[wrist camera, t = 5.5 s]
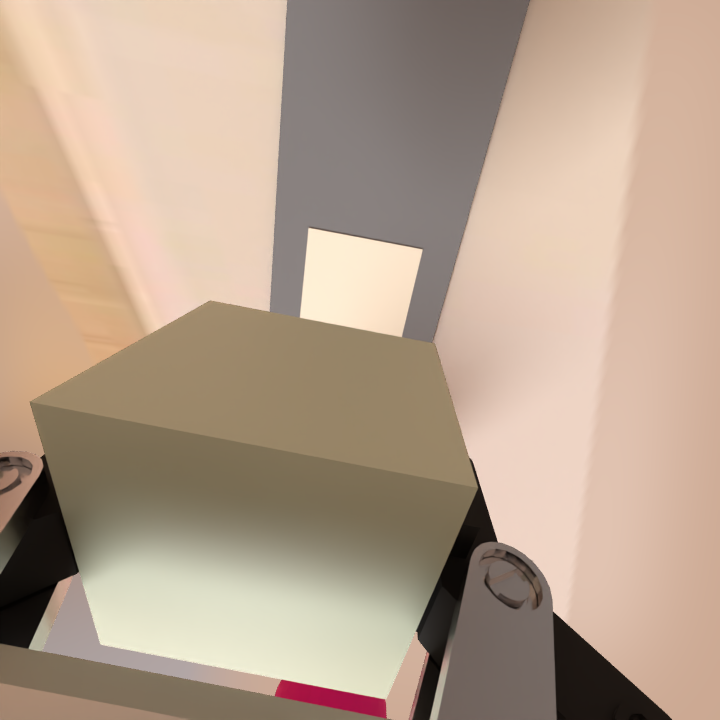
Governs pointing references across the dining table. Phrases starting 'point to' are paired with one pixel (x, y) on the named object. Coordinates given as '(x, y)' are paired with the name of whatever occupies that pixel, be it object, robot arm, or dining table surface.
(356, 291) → the build mat
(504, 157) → the dining table surface
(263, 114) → the dining table surface
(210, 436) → the sage block
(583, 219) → the dining table surface
